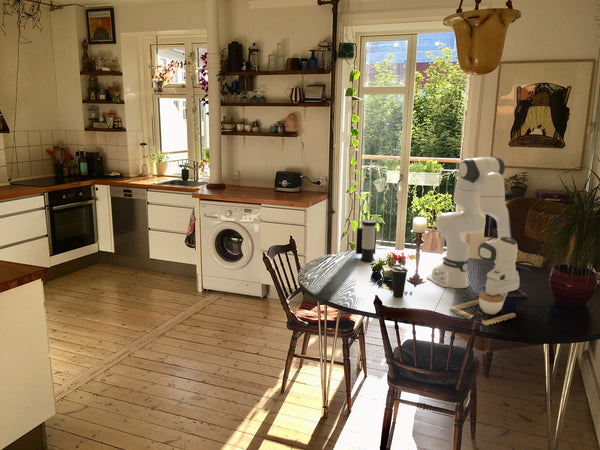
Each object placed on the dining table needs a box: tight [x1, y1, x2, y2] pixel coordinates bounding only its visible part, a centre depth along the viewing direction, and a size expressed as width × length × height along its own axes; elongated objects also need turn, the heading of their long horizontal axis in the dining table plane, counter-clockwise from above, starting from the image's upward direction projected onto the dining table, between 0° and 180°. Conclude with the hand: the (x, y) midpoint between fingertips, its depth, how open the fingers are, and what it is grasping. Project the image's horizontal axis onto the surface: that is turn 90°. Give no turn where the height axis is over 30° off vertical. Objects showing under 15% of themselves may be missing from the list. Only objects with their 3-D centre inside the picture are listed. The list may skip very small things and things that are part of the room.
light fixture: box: [355, 219, 377, 263], centre depth 299 cm, size 12×11×25 cm
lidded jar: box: [478, 291, 505, 315], centre depth 224 cm, size 11×11×9 cm
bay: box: [449, 299, 517, 326], centre depth 223 cm, size 20×20×2 cm
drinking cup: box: [391, 256, 409, 299], centre depth 240 cm, size 8×8×20 cm
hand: (501, 301), depth 228 cm, fingers closed
